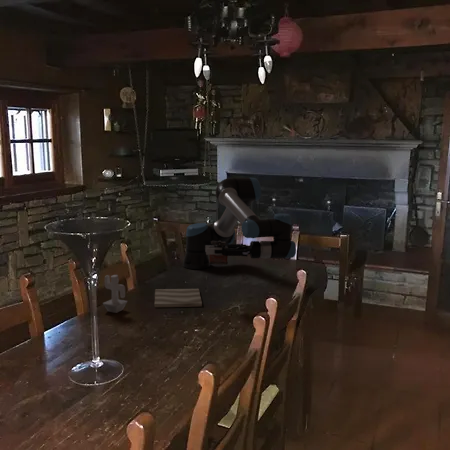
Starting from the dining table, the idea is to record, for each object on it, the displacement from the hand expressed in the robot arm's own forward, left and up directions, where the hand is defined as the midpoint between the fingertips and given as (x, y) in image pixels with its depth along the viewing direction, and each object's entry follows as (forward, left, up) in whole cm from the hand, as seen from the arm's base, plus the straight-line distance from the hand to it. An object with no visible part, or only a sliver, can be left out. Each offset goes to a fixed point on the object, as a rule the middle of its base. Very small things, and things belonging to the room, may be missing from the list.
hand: (206, 250), depth 215 cm
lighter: (0, +5, -6) cm, 8 cm away
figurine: (+8, -38, -24) cm, 45 cm away
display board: (-5, -12, -24) cm, 27 cm away
